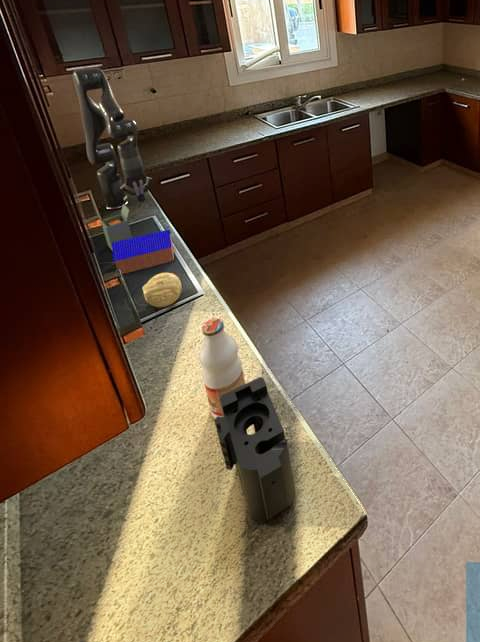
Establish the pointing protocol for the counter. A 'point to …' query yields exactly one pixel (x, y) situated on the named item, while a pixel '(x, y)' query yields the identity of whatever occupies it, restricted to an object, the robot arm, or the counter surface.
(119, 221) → the packet
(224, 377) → the fruit juice
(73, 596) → the counter surface
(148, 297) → the tan round lump
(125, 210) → the flap
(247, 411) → the black machined bracket
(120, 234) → the chute
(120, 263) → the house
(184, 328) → the counter surface
